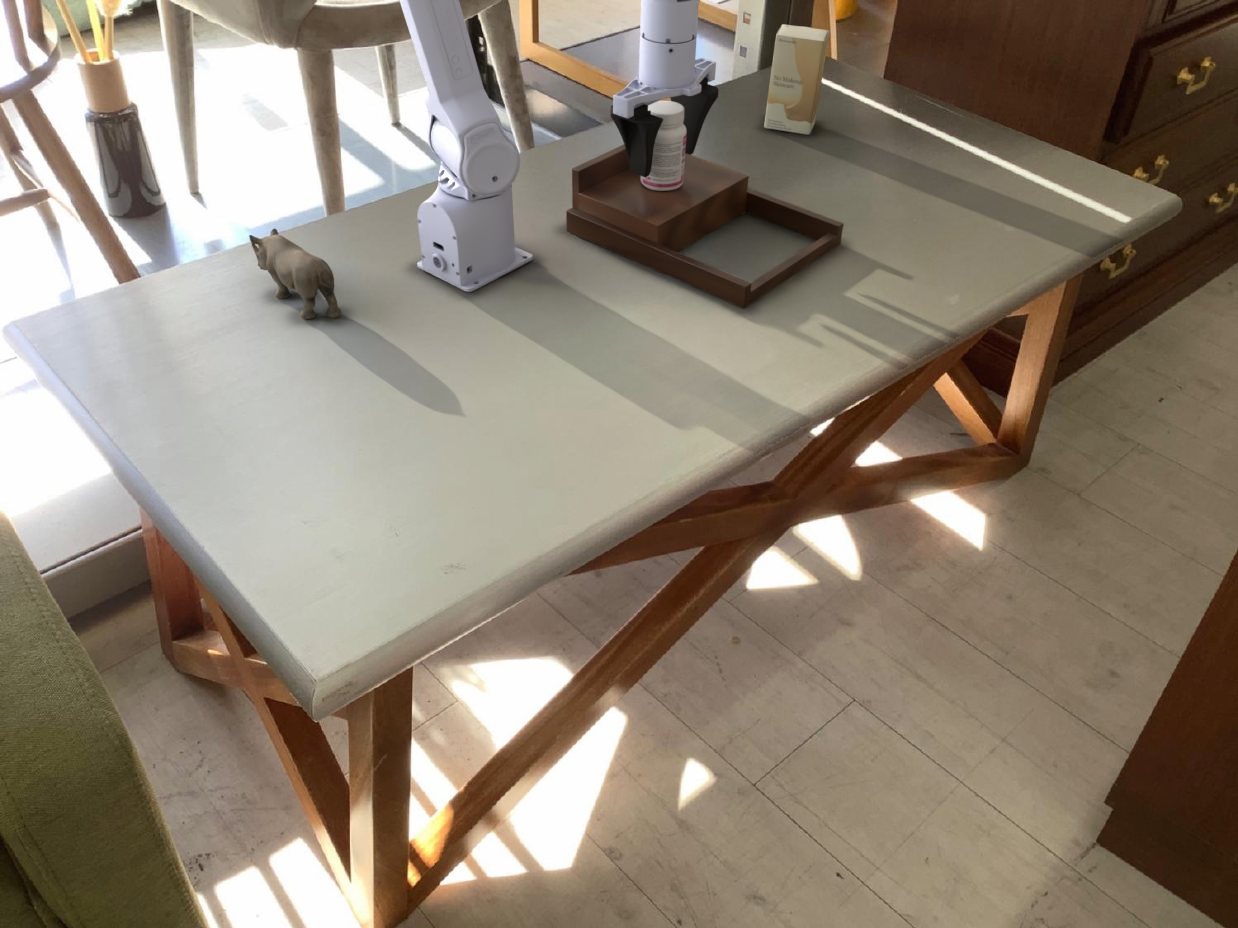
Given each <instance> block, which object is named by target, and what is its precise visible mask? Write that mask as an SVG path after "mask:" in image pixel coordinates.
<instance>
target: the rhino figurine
mask: <svg viewBox="0 0 1238 928" xmlns="http://www.w3.org/2000/svg"><path fill="white" fill-rule="evenodd" d="M248 238H249V241H250V242H251V248H252V249H253V252H254V254H255V257H256V260H257V266H258V267H259V269H260V270H263V271H267V272H268V273H269V275H270V277H271V279H272V280H273V281H274V282H275V284H276V285H277V287H278V289H277V290H276V291H275V293H274V295H275V297H276V299H286V298H289V297H290V294H291V292H290V290H294V291H296V292H297V293H298V295H299V296H300V297H301V299H302V301H303V308H302V309H301V310H300V312H299V315H300V318H301V319H302V320H303V319H307V320H310V319H314V318H316V311H315V307H316V296H317V293H318V290H319V292H320V293H321V294H322V296H323V297H324V300H325V302H326V304H327V306H328V308H327V310H326V315H327V317H330V318H332V319H336V318H339V317H341V315H342V309H341V308H340V307H339V306H338V301H337V298H336V295H335V277H334V273H333V270H332V268H331V267H330V266H329V264H328V262H326V260H324V259H323V258H321V257H319V256H316V255H314V254H312V253H310V252H308V251H307V250H305V249H304V248H302V247H301V246H300V245H298V244H296V243H295V242H293V241H291V240H289V238H286V237H285V236H283V235H281V234H279V232H278V230H277V228H275V227H274V228H273V229H272V230H271V231H270V236H267V237H263V238H259V237H256V236H254V235H252V234H249V235H248Z"/></svg>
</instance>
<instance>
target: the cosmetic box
mask: <svg viewBox="0 0 1238 928" xmlns="http://www.w3.org/2000/svg"><path fill="white" fill-rule="evenodd" d="M830 32H831V31H830V30H828V29H821V28H820V29H819V28H814V27H809V26H800V25H793V24H792V25H791V24H785V23H782V24H781V25H780V27H779V29H778V30H777V32H776V35H775V41H774V49H773V57H772V63H771V71H770V78H769V79H770V80H769V87H768V93H767V102H766V109H765V117H764V124H763V127H764V128H765V129H769V130H775V131H781V132H782V131H783V132H787V133H788V132H789V133H794V134H800V135H806V136H807V135H808V136H809V135H811V133H812V131H813V128H814V126H815V124H816V118H817V113H818V112H817V111H818V107H819V101H820V93H821V88H822V82H823V76H824V69H825V63H826V57H827V51H828V45H829V39H830Z"/></svg>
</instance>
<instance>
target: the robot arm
mask: <svg viewBox="0 0 1238 928" xmlns="http://www.w3.org/2000/svg"><path fill="white" fill-rule="evenodd" d="M399 4H400V7H401V10H402V13H403V17H404V20H405V22H406V25H407V28H408V32H409V35H410V38H411V41H412V44H413V47H414V51H415V54H416V57H417V60H418V62H419V63H418V64H419V66H420V69H421V72H422V76H423V78H424V81H425V85H426V88H427V92H428V95H427V96H426V97H427V98H426V99H425V102H424V103H425V106H426V110H427V113H428V124H427V132H426V133H427V136H426V137H427V143H428V146H429V148H430V150H431V152H432V153H433V154H434V156H436V157H437V158H438V159H440V167H439V172H438V178H437V179H438V184H437V186H436V187H437V188H436V189H435V190H434V192H433V193H432V194H431V195H430V196H429V197H428V198H427V199H426V200H424V201H423V202H421V203H420V205H419V207H418V209H417V215H416V222H417V229H418V239H419V248H420V256H421V257H420V258H421V260H419V261H418V262H417V263H416V265H417V268H418V269H420V270H422V271H424V272H425V273H428V274H430V275H432V276H434V277H436V278H438V279H440V280H443V281H444V282H446V283H448V284H450V285H452V286H454V287H456V288H458V289H460V290H462V291H464V292H466V293H472V292H473V291H476V290H478V289H480V288H482V287H484V286H486V285H487V284H489V283H491V282H493V281H495V280H497V279H499V278H500V277H503V276H505V275H506V274H509V273H510V272H512V271H514V270H516V269H518V268H520V267H522V266H524V265H526V264H527V263H529V262H531V261H533V259H534V255H533V254H532V253H530V252H528V251H525V250H523V249H521V248H519V247H517V246H516V245H515V242H516V241H515V228H514V227H515V226H514V205H513V203H514V201H513V183H514V182H515V181H516V178H517V176H518V174H519V172H520V169H521V168H520V167H521V155H520V151H519V149H518V146H517V145H516V144H515V142H514V141H513V140H512V138H510V137H509V136H508V135H507V134H506V132H505V130H504V129H503V126H502V122H501V119H500V116H499V114H498V112H497V110H496V109H495V107H494V105H493V103H492V101H491V99H490V98H489V96H488V94H487V92H486V89H485V87H484V85H483V81H482V77H481V73H480V70H479V66H478V63H477V60H476V56H475V52H474V49H473V45H472V41H471V38H470V35H469V31H468V27H467V24H466V21H465V16H464V14H463V10H462V6H461V3H460V0H399ZM699 5H700V0H640V19H639V20H640V21H639V22H640V25H639V53H638V56H639V57H638V74H637V75H636V76H635V77H633V79H632V80H631V81H630V82H628V84H627V85H626V86H625V87H623V89H622V90H620V91H618V92H617V93H615V94H613V96H612V98H613V99H612V105H611V106H610V108H609V110H610V111H609V115H610V118H611V119H612V121H613V123H614V125H615V126H616V128H617V130H618V132H619V134H620V136H621V139H622V142H623V145H625V148H626V152H627V156H628V160H629V164H630V169H631V172H632V173H635V174H637V175H640V176H643V177H647V176H649V174H650V171H651V167H652V159H653V150H654V144H655V140H656V136H657V133H658V131H659V128H660V126H661V124H662V122H663V119H662V118H660V117H657V116H654V115H651V111H650V110H649V111H648V105H651V104H653V103H655V102H657V101H663V100H664V99H669V98H670V101H672V102H677V103H679V104H681V105H682V106H683V107H684V122H683V124H684V125H685V127H686V132H687V133H686V149H685V153H686V154H689V155H692V154H694V153H695V149H696V146H697V143H698V140H699V138H700V134H701V131H702V128H703V126H704V122H705V120H706V118H707V116H708V114H709V112H710V110H711V108H712V107H713V105H714V104H715V102H716V101H717V99H718V98H719V91H720V89H719V88H718V87H717V86H715V85H712V84H709V83H710V82H713V81H715V80H716V69H717V61H714V60H710V59H708V58H704V57H700V58H697V59H696V55H697V40H698V39H697V37H698V25H699V24H698V23H699V9H700V8H699V7H700V6H699Z"/></svg>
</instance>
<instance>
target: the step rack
mask: <svg viewBox="0 0 1238 928" xmlns="http://www.w3.org/2000/svg"><path fill="white" fill-rule="evenodd" d="M749 178H750V176H749V175H748V174H746V173H742V172H739V171H737V170H734V169H731V168H728V167H726V166H723V165H720V164H718V163H715V162H712V161H709V160H706V159H703V158H701V157H698V156H695V155H692V154H691V155H689V154H686V153H685V165H684V181H683V184H682V185H681V186H680V187H679V188H677V189H674V190H669V191H657V190H652V189H649V188H647V187H645V186H644V185H643V184H642V183H641V179H640V175H637V174H635V173H632V172H631V169H630V164H629V160H628V156H627V152H626V148H625V145H624V144H622V145H619V146H618V147H617V146H616V147H615V148H614V149H611V150H609V151H607V152H604V153H602V154H600V155H598V156H596V157H594V158H592V159H589V160H587V161H585V162H582V163H580V164H579V165H577V166H574V167H572V168H571V192H572V193H571V195H572V198H571V201H572V206H571V208H568V209H567V210H565V214H566V217H565V218H566V232H568V233H570V234H573V235H575V236H577V237H580V238H582V239H584V240H587V241H588V242H590V243H593V244H594V245H597V246H600V247H602V248H604V249H606V250H609V251H612V252H614V253H616V254H618V255H620V256H623V257H626V258H627V259H630V260H632V261H634V262H637V263H639V264H641V265H644V266H646V267H648V268H651V269H652V270H655V271H657V272H660V273H662V274H664V275H666V276H669V277H671V278H674V279H675V280H677V281H680V282H682V283H685V284H687V285H689V286H692V287H694V288H696V289H698V290H700V291H703V292H705V293H708V294H709V295H712V296H714V297H717V298H719V299H720V300H723V301H726V302H728V303H731V304H733V305H735V306H737V307H740V308H742V309H746V307H748V306H750V305H751V304H753V303H755V302H756V301H757V300H759V299H761V297H763V296H765V295H766V294H768V293H769V292H771V291H772V290H774V289H775V288H777V287H779V285H781V284H783V283H784V282H785V281H787V280H789V279H790V278H792V277H793V276H795V275H796V274H798V273H799V272H800V271H802V270H803V269H806V268H807V267H808V266H810V265H811V264H813V263H814V262H816V261H817V260H818V259H820V258H822V257H823V256H825V255H826V254H828V253H829V252H831V251H832V250H834V249H835V248H836V247H838V246H840V245H841V244H842V243H841V242H842V236H843V229H844V222H842V221H839V220H835V219H833V218H830V217H827V216H825V215H822V214H820V213H817V212H815V211H812V210H809V209H806V208H803V207H801V206H798V205H795V204H793V203H790V202H787V201H784V200H783V199H782V200H781V199H779V198H776V197H773V196H771V195H768V194H766V193H763V192H760V191H758V190H755V189H752V188H749ZM745 213H746V214H748V215H751V216H753V217H757V218H759V219H762V220H764V221H767V222H770V223H773V224H775V225H778V226H779V227H783V228H785V229H788V230H791V231H792V232H795V233H798V234H800V235H804V236H805V237H809V238H810V239H814V240H815V241H813V242H812V243H811V244H809V245H808V246H806V247H804V248H803V249H801V250H800V251H798V252H797V253H795V254H794V255H792V256H791V257H789V258H787V259H786V260H785V261H783V262H781V263H779V264H778V265H777V266H776V267H774V268H772V269H771V270H769V271H767V272H766V273H765V274H762V275H761V276H759V278H757V279H755V280H754V281H752V282H750V281H748V280H745V279H743V278H741V277H738V276H735V275H733V274H732V273H728V272H726V271H724V270H721V269H719V268H717V267H714V266H712V265H710V264H707V263H705V262H702V261H700V260H698V259H695V258H693V257H691V256H688V255H686V254H683V253H681V252H680V251H682V250H684V249H685V248H686V247H689V246H690V245H692V244H694V243H695V242H697V241H699V240H701V239H702V238H704V237H706V236H707V235H709V234H711V233H713V232H715V231H716V230H718V229H719V228H721V227H723V226H725V225H726V224H728V223H730V222H731V221H733V220H735V219H737V218H739V217H740V216H742V215H743V214H745Z"/></svg>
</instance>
